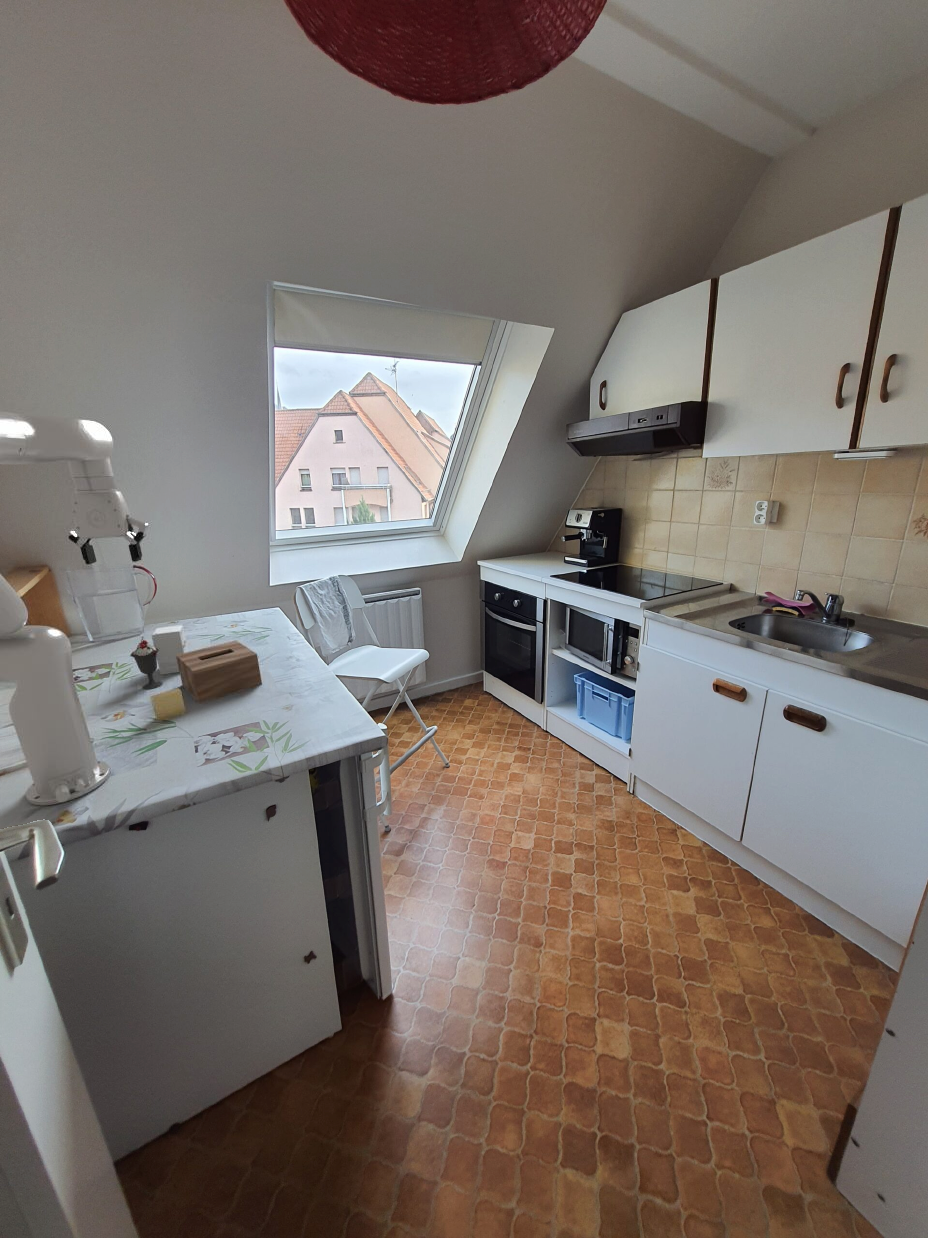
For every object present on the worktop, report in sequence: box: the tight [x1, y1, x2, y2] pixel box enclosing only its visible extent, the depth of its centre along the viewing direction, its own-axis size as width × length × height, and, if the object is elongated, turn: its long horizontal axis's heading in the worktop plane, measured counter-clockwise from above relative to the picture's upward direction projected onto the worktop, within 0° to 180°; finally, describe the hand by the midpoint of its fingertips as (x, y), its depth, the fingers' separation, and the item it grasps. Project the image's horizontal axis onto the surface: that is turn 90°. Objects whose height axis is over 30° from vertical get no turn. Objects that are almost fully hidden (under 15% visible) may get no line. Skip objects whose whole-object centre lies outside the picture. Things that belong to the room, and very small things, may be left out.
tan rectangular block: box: [150, 688, 187, 722], centre depth 116 cm, size 2×6×6 cm, turn 133°
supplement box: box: [151, 624, 189, 675], centre depth 144 cm, size 7×7×13 cm
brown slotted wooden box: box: [176, 640, 263, 704], centre depth 132 cm, size 16×16×9 cm
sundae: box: [129, 636, 164, 690], centre depth 132 cm, size 7×7×15 cm
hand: (114, 562), depth 111 cm, fingers open, 9 cm apart
